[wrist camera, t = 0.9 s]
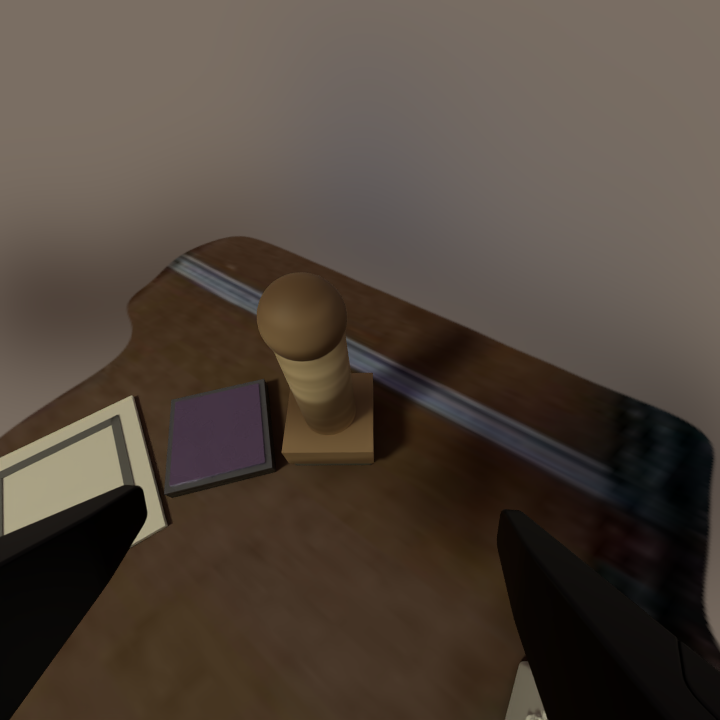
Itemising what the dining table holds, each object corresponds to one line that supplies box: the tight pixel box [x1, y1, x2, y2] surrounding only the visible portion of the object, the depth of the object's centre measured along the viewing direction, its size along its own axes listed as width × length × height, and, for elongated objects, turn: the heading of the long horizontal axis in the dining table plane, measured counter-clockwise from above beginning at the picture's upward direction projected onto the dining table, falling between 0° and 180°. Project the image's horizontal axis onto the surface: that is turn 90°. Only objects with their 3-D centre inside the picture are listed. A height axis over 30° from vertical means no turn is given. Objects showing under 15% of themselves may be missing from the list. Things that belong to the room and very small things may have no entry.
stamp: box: [257, 272, 374, 465], centre depth 19 cm, size 6×6×14 cm
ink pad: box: [164, 379, 276, 498], centre depth 25 cm, size 7×7×1 cm
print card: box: [0, 396, 168, 548], centre depth 23 cm, size 11×11×1 cm
